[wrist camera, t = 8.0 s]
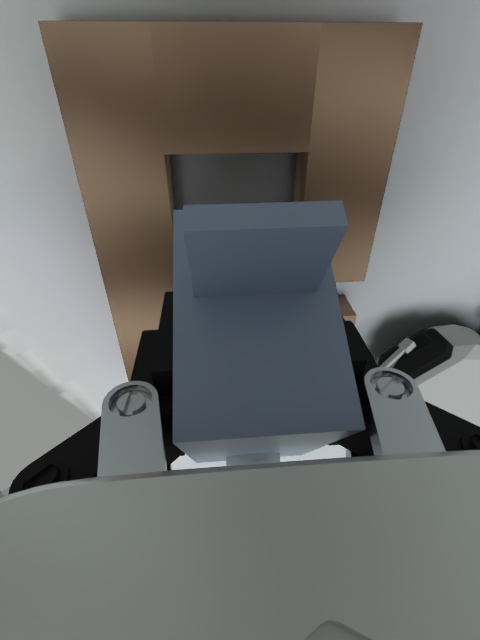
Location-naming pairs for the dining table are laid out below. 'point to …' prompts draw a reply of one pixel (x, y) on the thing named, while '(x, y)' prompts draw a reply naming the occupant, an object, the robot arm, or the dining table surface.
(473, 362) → the robot toy
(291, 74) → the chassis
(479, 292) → the dining table surface
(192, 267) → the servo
